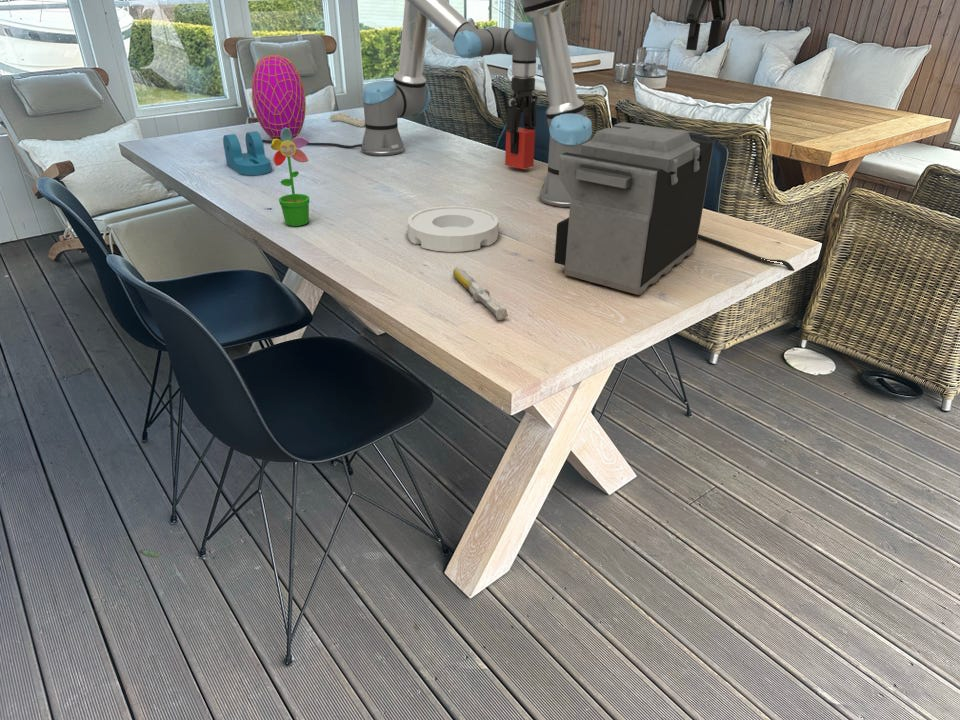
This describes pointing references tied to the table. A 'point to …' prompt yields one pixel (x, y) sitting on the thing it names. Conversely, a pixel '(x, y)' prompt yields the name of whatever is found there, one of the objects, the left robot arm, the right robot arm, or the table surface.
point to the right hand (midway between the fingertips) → (702, 48)
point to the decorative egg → (278, 96)
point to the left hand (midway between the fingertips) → (520, 151)
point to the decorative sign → (347, 119)
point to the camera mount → (246, 154)
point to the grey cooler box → (632, 205)
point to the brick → (521, 149)
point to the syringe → (479, 293)
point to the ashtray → (452, 228)
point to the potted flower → (291, 178)
